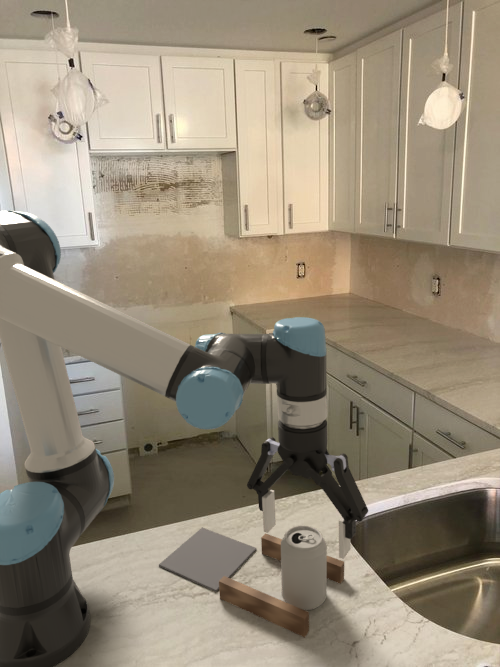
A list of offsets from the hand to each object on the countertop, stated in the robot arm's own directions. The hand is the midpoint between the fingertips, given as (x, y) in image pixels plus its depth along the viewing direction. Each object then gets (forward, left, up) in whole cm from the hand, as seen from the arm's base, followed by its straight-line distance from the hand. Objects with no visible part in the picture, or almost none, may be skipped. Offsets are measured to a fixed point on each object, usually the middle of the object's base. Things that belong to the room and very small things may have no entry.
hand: (305, 540), depth 88 cm
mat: (-20, 0, -11) cm, 23 cm away
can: (0, 0, -11) cm, 11 cm away
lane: (-4, 0, -11) cm, 12 cm away
